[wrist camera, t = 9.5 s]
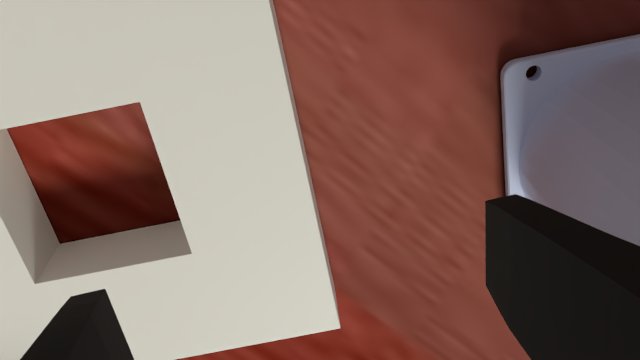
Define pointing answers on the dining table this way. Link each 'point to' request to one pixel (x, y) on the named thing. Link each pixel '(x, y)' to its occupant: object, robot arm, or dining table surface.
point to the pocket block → (167, 176)
